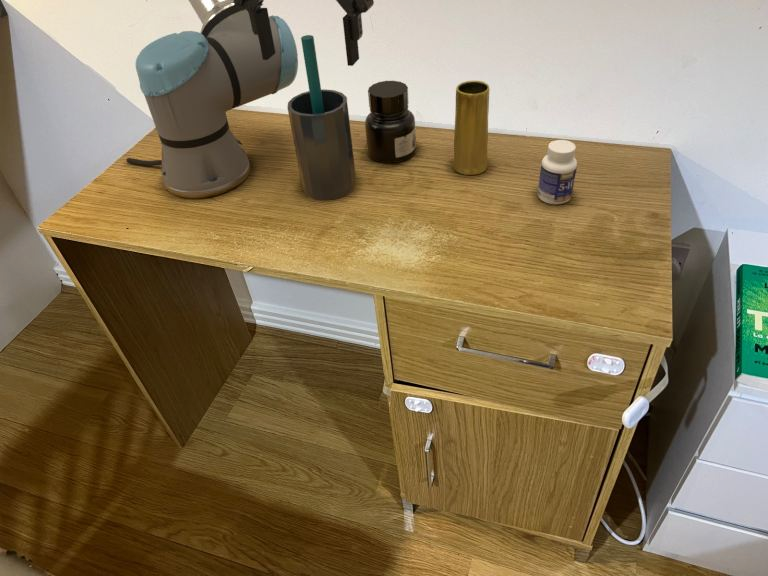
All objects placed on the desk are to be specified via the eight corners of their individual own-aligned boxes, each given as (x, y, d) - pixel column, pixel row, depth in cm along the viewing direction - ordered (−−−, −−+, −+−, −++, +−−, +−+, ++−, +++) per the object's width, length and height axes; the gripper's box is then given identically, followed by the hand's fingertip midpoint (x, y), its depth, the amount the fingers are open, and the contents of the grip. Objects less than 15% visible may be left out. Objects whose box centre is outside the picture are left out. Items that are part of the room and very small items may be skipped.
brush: (313, 185, 100) (288, 41, 84) (322, 173, 103) (300, 31, 87) (335, 188, 99) (314, 43, 83) (344, 176, 102) (325, 32, 85)
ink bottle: (410, 167, 104) (407, 102, 96) (362, 164, 106) (355, 100, 98) (420, 140, 111) (418, 77, 103) (374, 137, 113) (369, 76, 105)
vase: (487, 157, 105) (491, 78, 95) (488, 175, 100) (493, 95, 91) (452, 157, 105) (453, 79, 96) (452, 176, 101) (453, 96, 91)
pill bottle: (560, 209, 92) (568, 158, 86) (531, 198, 94) (537, 148, 88) (577, 194, 94) (586, 144, 88) (548, 183, 97) (555, 134, 91)
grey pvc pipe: (294, 196, 99) (277, 112, 89) (315, 168, 106) (302, 87, 96) (344, 203, 97) (333, 118, 87) (363, 174, 103) (355, 91, 93)
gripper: (181, -106, 74) (223, 63, 88) (369, -110, 67) (382, 75, 81) (213, -117, 79) (248, 45, 93) (390, -121, 72) (398, 54, 86)
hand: (310, 59), depth 87 cm, fingers open, 13 cm apart
